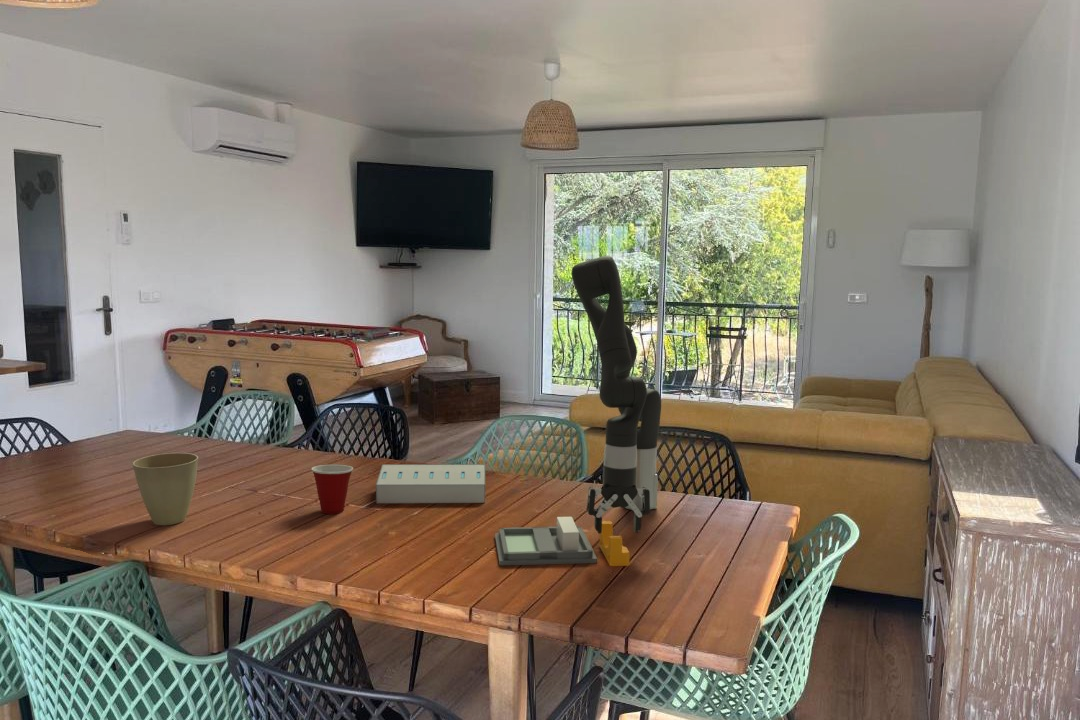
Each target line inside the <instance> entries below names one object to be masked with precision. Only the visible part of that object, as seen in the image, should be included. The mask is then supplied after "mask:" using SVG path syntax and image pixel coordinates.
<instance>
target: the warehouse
mask: <svg viewBox="0 0 1080 720" xmlns="http://www.w3.org/2000/svg"><path fill="white" fill-rule="evenodd" d="M375 502H376V504H469V503H470V504H475V503H476V504H477V503H478V504H479V503H480V504H481V503H484V504H486V464H485V463H484V464H478V463H477V464H473V463H472V464H457V463H456V464H455V463H454V464H452V463H450V464H424V463H423V464H418V463H417V464H413V463H412V464H411V463H410V464H381V468H380V471H379V474H378V477H377V481H376V483H375Z"/></svg>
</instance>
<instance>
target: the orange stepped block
mask: <svg viewBox="0 0 1080 720" xmlns="http://www.w3.org/2000/svg"><path fill="white" fill-rule="evenodd" d="M613 526H614V525H613V522H612V520H602V533H599V549H600V551H601V552H602V554H603V555H604V557H605V559H606V561H607V563H608V565H609V567H623V566H624V567H628V566H630V555H631V554H630V551H629V549H628V548H627V546H624V545H623V537H622V535H614V531H613V530H614V527H613Z"/></svg>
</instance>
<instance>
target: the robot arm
mask: <svg viewBox="0 0 1080 720" xmlns="http://www.w3.org/2000/svg"><path fill="white" fill-rule="evenodd" d="M571 277H572V282H573V286H574V288H575V290H576V292H577V295H578V297H579V300H580V302H581V304H582V307H583V309H584V310H585V313H586V315H587V317H588V319H589V322H590V325H591V327H592V331H593V334H594V337H595V340H596V344H597V348H598V349H597V350H598V353H599V359H600V363H601V364H600V365H601V366H600V367H601V371H600V372H601V374H600V375H601V376H600V385H599V398H600V401H601V403H602V404H603V406H605V407H607V408H610V409H611V408H612V409H615V408H617V410H618V411H619V414H620V415H616V416H613V417H610V418H608V419H607V420H606V425H605V444H604V445H605V446H604V451H603V470H602V472H603V473H602V475H603V476H602V486H601V488H597V487H596V488H595V487H593V486H590V487H589V488H588V492H587V494H588V495H587V502H586V504H587V505H586V511H587V514H588V515H590V516H594V529H595V531H596V532H597V533H598V534H600V533H602V521H603V517H602V516H603V515H604V513H605V512H606V511H608V510H609V509H610V508H613V509H614V508H615V509H616V508H624V509H628V510H629V511H631V510H632V511H633V512H634V514H633V527H632V530H633V533H635V534H638V533H639V531H641V529H642V517H643V516H645V515H648V516H649V515H650V514H651V513H650V512H651V510H655V509H658V505H657V504H658V485H659V484H658V482H659V480H658V479H659V475H658V474H657V454H658V453H657V451H658V449H657V448H658V447H657V446H658V439H659V434H660V424H661V413H662V399H661V398H662V397H661V394H660V392H659V391H658V390H657V389H653V388H647V385H646V383H645V382H646V381H644V380H643V378H641V377H639V376H636V375H635V376H631V374H630V373H631V371H632V369H633V367H634V364H635V362H636V358H637V355H638V350H637V345H636V343H635V339H634V335H633V333H632V330H631V328H630V327H629V325H627V324H626V323H625V312H624V300H623V292H622V284H621V283H622V281H621V278H620V273H619V269H618V266H617V264H616V261H615V260H614V258H613V257H612V256H610V255H603V256H600V257H596V258H593V259H589V260H585V261H582V262H580V263H577V264H574V265H573V267H572V269H571ZM606 295H608V302H607V307H606V309H605V308H604V307H603V306H602V305H601V304H600V302H599V300H597V298H599V297H603V296H606ZM639 423H640V427H639V429H638V426H639ZM600 494H601V496H602V497H603V498H602V500H601V501H600V503H599V505H598V506H597V507H596V508H595V504H596V499H597V498H598V497H599V496H600Z"/></svg>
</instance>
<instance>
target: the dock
mask: <svg viewBox="0 0 1080 720" xmlns="http://www.w3.org/2000/svg"><path fill="white" fill-rule="evenodd" d="M498 529H499V532H495V533H494V540H495V546H496V552H497V557H498V564H499V566H527V565H528V566H531V565H532V566H533V565H536V566H537V565H538V566H539V565H569V564H571V565H572V564H573V565H574V564H576V565H577V564H597V563H598V558H597V557H598V556H597V555H596V554H595V553H596V552H595V551H594V549H593V547H592V544H591V543H590V541H589V539H588V537H587V535H586V533H585V531H584V530H583V529H582V526H580V525H576V523H575V521H574V518H573V516H557V517H556V526H528V527H524V526H523V527H522V526H521V527H520V526H519V527H498Z"/></svg>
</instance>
